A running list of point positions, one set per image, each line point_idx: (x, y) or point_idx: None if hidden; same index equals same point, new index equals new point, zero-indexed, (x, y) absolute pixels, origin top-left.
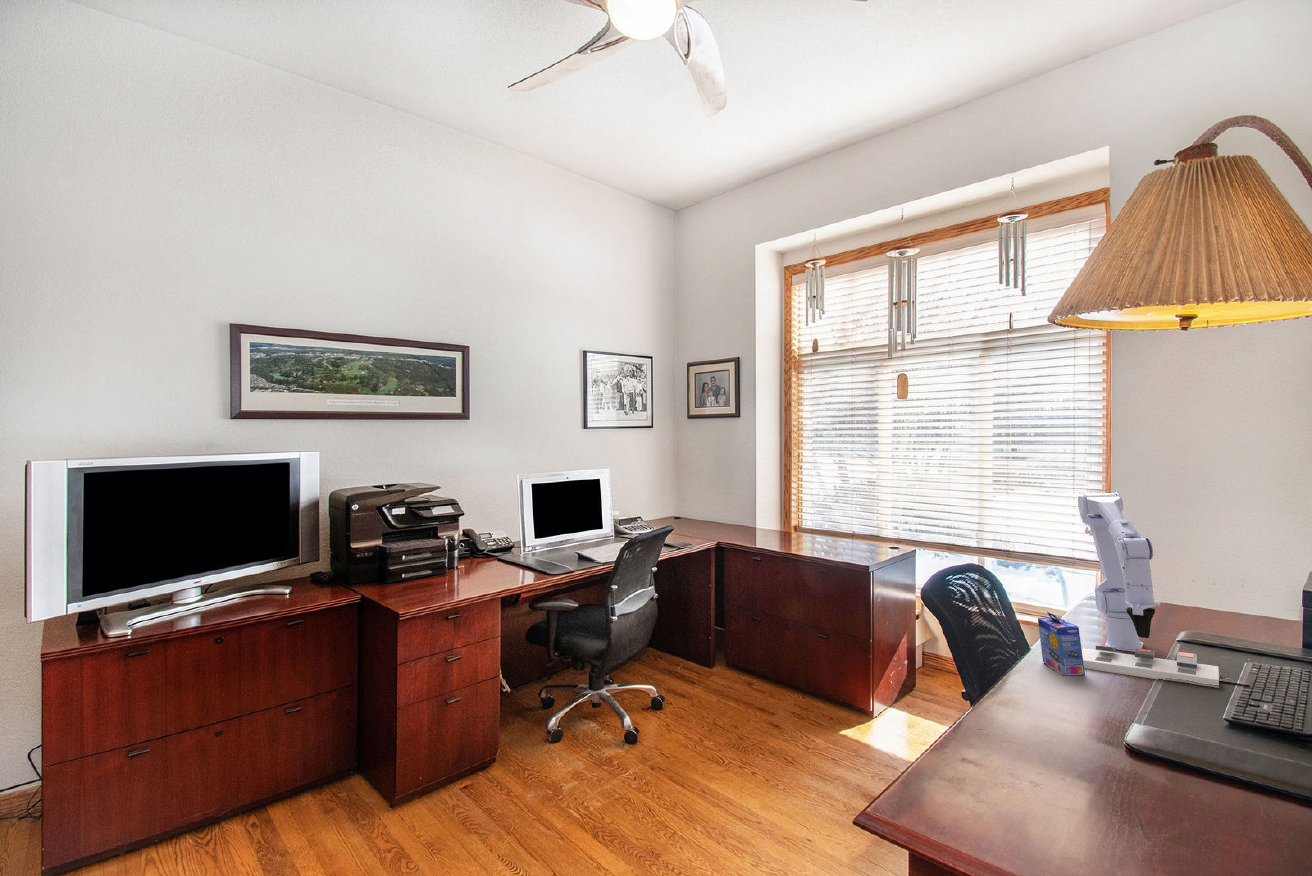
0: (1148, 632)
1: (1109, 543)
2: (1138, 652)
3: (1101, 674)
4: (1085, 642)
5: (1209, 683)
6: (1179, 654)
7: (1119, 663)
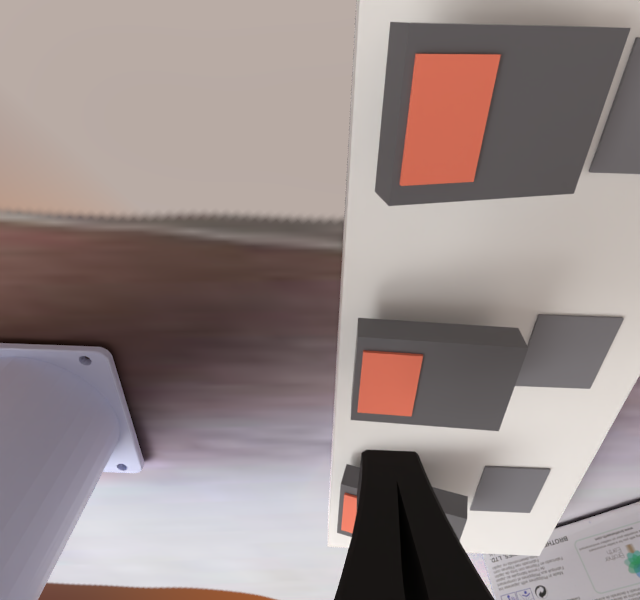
0: (437, 507)
1: None
2: (472, 414)
3: (613, 456)
4: (95, 513)
5: None
6: (445, 182)
7: (558, 441)
